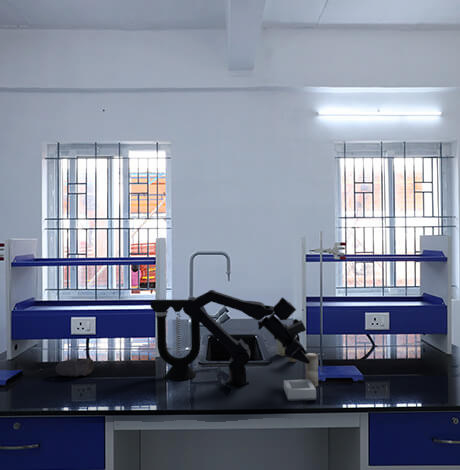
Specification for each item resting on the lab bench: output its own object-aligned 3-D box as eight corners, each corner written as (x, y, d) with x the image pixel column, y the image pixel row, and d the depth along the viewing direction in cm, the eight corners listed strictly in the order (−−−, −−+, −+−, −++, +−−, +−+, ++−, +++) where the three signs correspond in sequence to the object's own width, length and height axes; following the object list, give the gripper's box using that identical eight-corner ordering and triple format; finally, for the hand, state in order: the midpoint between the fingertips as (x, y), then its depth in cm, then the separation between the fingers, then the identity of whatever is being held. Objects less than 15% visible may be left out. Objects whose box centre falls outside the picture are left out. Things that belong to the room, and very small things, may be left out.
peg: (303, 384, 153) (303, 354, 153) (311, 381, 156) (311, 352, 156) (312, 387, 150) (312, 357, 150) (320, 385, 152) (320, 355, 152)
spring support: (205, 371, 170) (204, 298, 170) (200, 381, 158) (198, 303, 158) (156, 369, 172) (155, 297, 172) (147, 380, 160) (146, 302, 160)
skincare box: (282, 356, 188) (282, 329, 188) (276, 354, 192) (275, 327, 192) (292, 354, 192) (292, 327, 192) (286, 351, 196) (286, 326, 195)
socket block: (288, 400, 139) (288, 390, 139) (283, 390, 148) (283, 380, 148) (316, 399, 139) (316, 389, 139) (310, 389, 148) (309, 379, 148)
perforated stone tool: (52, 377, 165) (52, 360, 165) (59, 373, 170) (59, 356, 170) (89, 378, 163) (88, 360, 163) (94, 374, 169) (94, 356, 169)
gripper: (293, 319, 144) (326, 350, 143) (291, 309, 163) (320, 337, 162) (271, 341, 145) (303, 373, 144) (271, 329, 164) (300, 357, 162)
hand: (308, 359), depth 153 cm, fingers open, 9 cm apart
